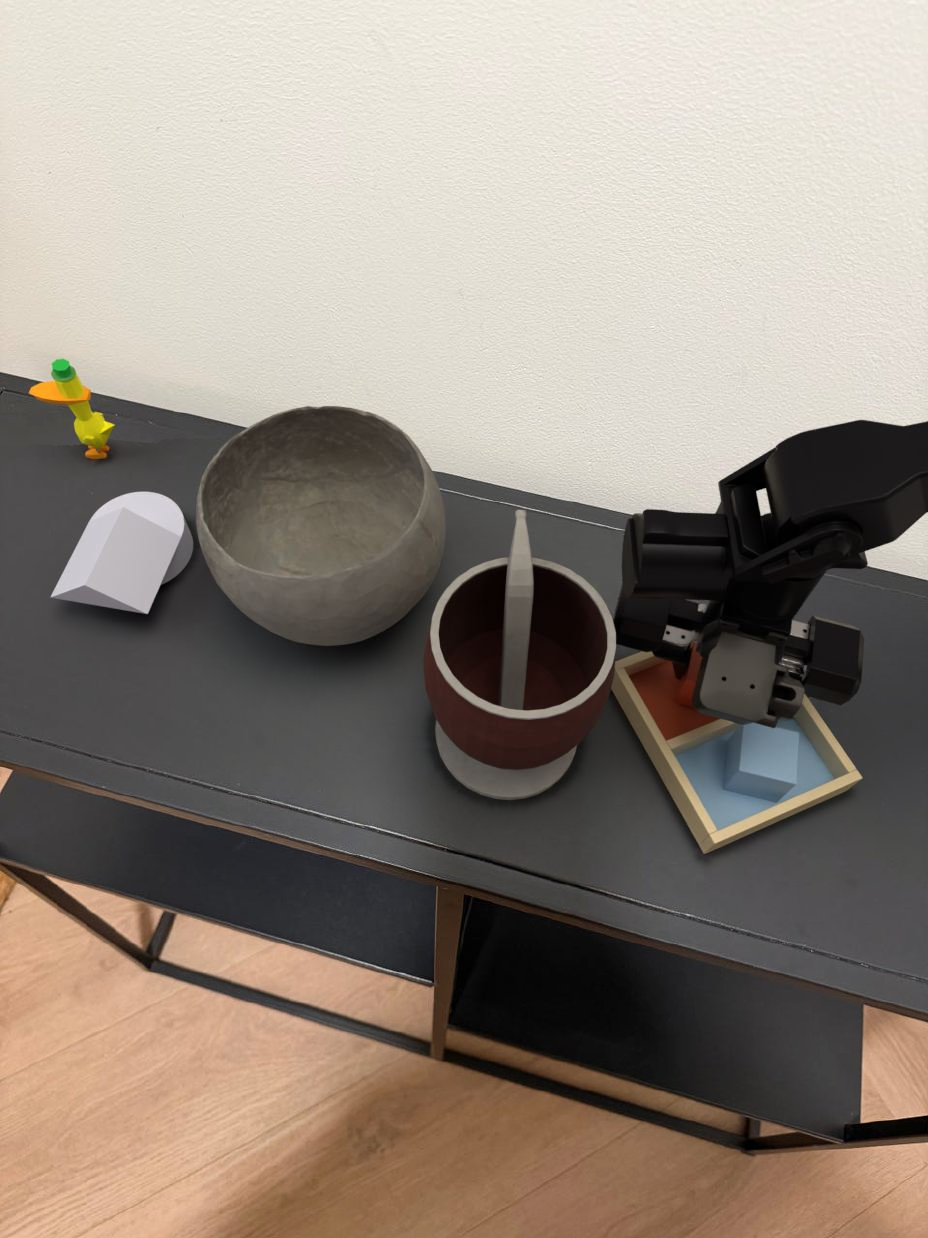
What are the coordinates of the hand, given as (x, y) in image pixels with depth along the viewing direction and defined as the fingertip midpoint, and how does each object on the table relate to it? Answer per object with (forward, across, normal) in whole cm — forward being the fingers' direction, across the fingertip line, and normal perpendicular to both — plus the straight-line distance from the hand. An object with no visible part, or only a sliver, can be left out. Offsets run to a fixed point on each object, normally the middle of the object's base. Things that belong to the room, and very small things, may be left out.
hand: (705, 682), depth 72 cm
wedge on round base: (+2, -54, -3) cm, 54 cm away
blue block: (+2, +5, -6) cm, 8 cm away
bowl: (+2, -35, +1) cm, 35 cm away
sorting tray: (+2, +2, -3) cm, 5 cm away
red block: (+1, 0, 0) cm, 1 cm away
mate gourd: (+2, -16, -8) cm, 18 cm away
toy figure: (+2, -65, +8) cm, 65 cm away
